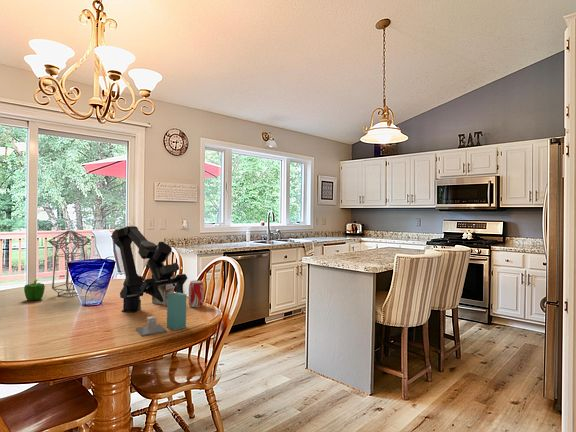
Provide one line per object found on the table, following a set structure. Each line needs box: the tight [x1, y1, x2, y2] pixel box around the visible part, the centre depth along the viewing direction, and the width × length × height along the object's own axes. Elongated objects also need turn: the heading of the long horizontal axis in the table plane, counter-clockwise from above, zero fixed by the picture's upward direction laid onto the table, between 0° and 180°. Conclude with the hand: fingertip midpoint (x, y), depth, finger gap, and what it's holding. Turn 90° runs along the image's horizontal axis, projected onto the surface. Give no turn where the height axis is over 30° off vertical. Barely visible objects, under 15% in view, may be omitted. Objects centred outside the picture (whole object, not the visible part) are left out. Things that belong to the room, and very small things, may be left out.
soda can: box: [188, 280, 205, 308], centre depth 172 cm, size 7×7×12 cm
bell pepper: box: [23, 278, 45, 302], centre depth 178 cm, size 8×8×10 cm
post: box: [146, 315, 157, 331], centre depth 135 cm, size 3×3×4 cm
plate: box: [135, 323, 168, 337], centre depth 135 cm, size 9×9×1 cm
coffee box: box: [151, 272, 175, 306], centre depth 177 cm, size 9×6×16 cm
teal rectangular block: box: [166, 292, 188, 331], centre depth 140 cm, size 5×5×13 cm
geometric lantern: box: [46, 229, 92, 298], centre depth 188 cm, size 16×16×35 cm
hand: (172, 299), depth 141 cm, fingers open, 9 cm apart
